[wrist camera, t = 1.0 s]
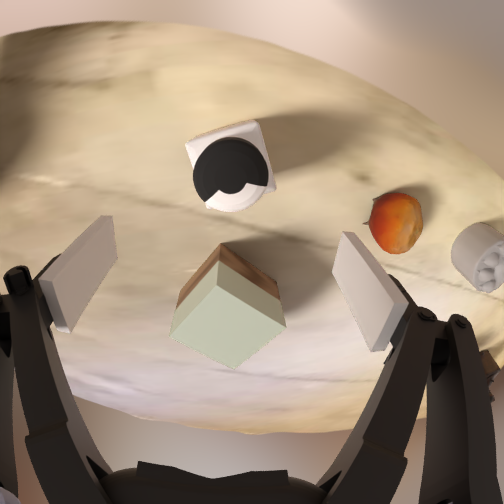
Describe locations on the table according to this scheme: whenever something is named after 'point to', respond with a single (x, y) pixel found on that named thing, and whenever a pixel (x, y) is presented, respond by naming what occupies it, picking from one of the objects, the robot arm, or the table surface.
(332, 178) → the table surface
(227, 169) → the medicine bottle
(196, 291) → the sage slab
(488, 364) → the coffee grinder
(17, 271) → the robot arm
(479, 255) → the lumpy-topped squat cylinder
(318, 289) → the table surface
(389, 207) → the fruit
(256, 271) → the walnut slab
